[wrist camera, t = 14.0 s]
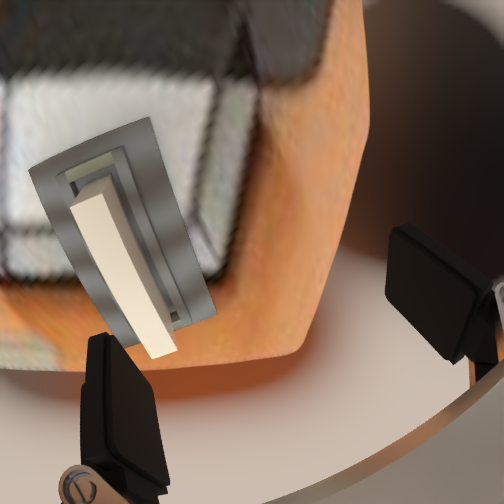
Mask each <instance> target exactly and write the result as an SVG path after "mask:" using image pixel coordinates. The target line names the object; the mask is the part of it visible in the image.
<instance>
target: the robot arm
mask: <svg viewBox="0 0 504 504" xmlns="http://www.w3.org/2000/svg"><path fill="white" fill-rule="evenodd" d="M492 286H493V283H492V282H491V281H490V280H489V279H487V278H486V277H485V276H484V275H482V274H481V273H480V272H478V271H477V270H476V269H475V268H473V267H472V266H470V265H469V264H468V263H467V262H465V261H464V260H462V259H461V258H459V257H458V256H457V255H456V254H454V253H453V252H451V251H450V250H449V249H447V248H446V247H445V246H443V245H442V244H440V243H439V242H437V241H436V240H434V239H433V238H432V237H430V236H429V235H427V234H426V233H424V232H423V231H421V230H420V229H418V228H417V227H415V226H414V225H412V224H411V223H409V222H405V223H403V224H401V225H398V226H395V227H394V228H393V229H392V231H391V233H390V235H389V247H388V261H387V275H386V285H385V295H386V298H387V300H388V301H389V302H390V303H391V304H392V305H393V306H394V307H395V308H396V309H397V310H398V311H399V312H400V313H401V314H402V315H403V316H404V317H405V318H406V319H407V320H408V322H410V323H411V325H412V326H413V327H414V328H415V329H416V330H417V331H418V332H419V333H420V334H421V335H422V336H423V337H424V338H425V339H426V340H427V341H428V342H429V344H430V345H431V346H432V347H433V348H434V349H435V350H436V351H437V352H438V353H439V354H440V355H441V356H442V357H443V358H444V359H445V360H449V361H450V362H451V363H452V364H453V365H454V364H456V363H457V362H458V361H459V360H461V359H462V358H463V357H464V355H466V356H467V357H468V360H469V379H470V389H469V390H467V391H466V392H465V393H464V394H462V395H461V396H460V397H459V398H457V399H456V400H455V401H453V402H452V403H451V404H450V405H448V406H447V407H446V408H444V409H443V410H442V411H440V412H439V413H437V414H436V415H435V416H433V417H432V418H430V419H429V420H428V421H426V422H425V423H424V424H422V425H421V426H419V427H417V428H416V429H414V430H413V431H411V432H410V433H408V434H407V435H405V436H404V437H402V438H401V439H399V440H397V441H396V442H394V443H392V444H391V445H389V446H387V447H386V448H384V449H382V450H381V451H379V452H377V453H375V454H374V455H372V456H370V457H368V458H366V459H364V460H363V461H361V462H359V463H357V464H355V465H353V466H351V467H349V468H347V469H345V470H343V471H341V472H339V473H337V474H335V475H333V476H331V477H329V478H326V479H324V480H322V481H320V482H317V483H315V484H313V485H311V486H308V487H306V488H303V489H301V490H298V491H296V492H293V493H291V494H288V495H286V496H283V497H280V498H278V499H275V500H272V501H269V502H266V503H263V504H504V282H503V283H500V284H499V285H498V286H497V287H496V289H495V292H494V291H493V290H492ZM80 450H81V465H75V466H72V467H70V468H68V469H67V470H66V471H65V472H64V473H63V475H62V476H61V478H60V481H59V495H60V499H61V500H62V503H61V504H159V500H158V496H159V495H164V494H168V491H167V487H166V486H168V485H170V478H169V473H168V469H167V465H166V460H165V455H164V450H163V445H162V440H161V435H160V429H159V423H158V417H157V411H156V405H155V399H154V393H153V390H152V387H151V385H150V384H149V382H148V381H147V380H146V378H145V377H144V376H143V374H142V373H141V372H140V370H139V369H138V368H137V366H136V365H135V363H134V362H133V361H132V359H131V358H130V357H129V355H128V354H127V352H126V351H125V349H124V348H123V347H122V345H121V344H120V342H119V341H118V339H117V338H116V337H115V335H109V334H108V333H107V332H104V333H101V334H98V335H95V336H91V337H90V338H89V340H88V348H87V361H86V377H85V383H84V384H83V385H82V388H81V405H80Z"/></svg>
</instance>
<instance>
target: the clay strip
mask: <svg viewBox="0 0 504 504" xmlns="http://www.w3.org/2000/svg"><path fill="white" fill-rule="evenodd" d="M70 209H71V211H72V214H73V216H74V218H75V220H76V222H77V225H78V227H79V229H80V231H81V233H82V235H83V238H84V240H85V242H86V244H87V246H88V248H89V250H90V252H91V254H92V256H93V258H94V260H95V262H96V264H97V266H98V268H99V270H100V271H101V273H102V275H103V277H104V279H105V281H106V283H107V285H108V286H109V288H110V290H111V292H112V294H113V295H114V297H115V299H116V301H117V303H118V304H119V306H120V308H121V309H122V311H123V313H124V315H125V316H126V318H127V320H128V321H129V323H130V325H131V326H132V328H133V329H134V331H135V333H136V334H137V336H138V338H139V339H140V341H141V342H142V344H143V345H144V347H145V349H146V350H147V352H148V353H149V355H150V356H151V358H152V359H154V358H157V357H160V356H163V355H166V354H169V353H171V352H174V351H177V350H178V349H177V344H176V340H175V335H174V330H173V325H172V320H171V315H170V310H169V306H168V304H167V302H166V300H165V298H164V296H163V294H162V292H161V290H160V287H159V285H158V283H157V281H156V279H155V277H154V275H153V272H152V270H151V268H150V266H149V264H148V261H147V259H146V257H145V255H144V252H143V250H142V248H141V246H140V243H139V241H138V239H137V236H136V234H135V231H134V229H133V227H132V224H131V222H130V219H129V217H128V215H127V212H126V210H125V207H124V205H123V202H122V199H121V197H120V194H119V192H118V189H117V186H116V184H115V181H114V178H113V176H112V173H111V172H110V173H108V174H105V175H103V176H101V177H98V178H96V179H94V180H91V181H89V182H87V183H85V184H84V186H83V187H82V189H81V191H80V192H79V194H78V195H77V197H76V198H75V200H74V201H73V203H72V205H71V206H70Z"/></svg>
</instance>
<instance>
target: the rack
mask: <svg viewBox="0 0 504 504" xmlns="http://www.w3.org/2000/svg"><path fill="white" fill-rule="evenodd" d="M28 171H29V174H30V176H31V179H32V181H33V184H34V186H35V189H36V191H37V194H38V196H39V198H40V201H41V203H42V205H43V207H44V210H45V212H46V214H47V216H48V219H49V221H50V223H51V225H52V227H53V229H54V231H55V233H56V235H57V237H58V239H59V241H60V243H61V245H62V247H63V249H64V251H65V253H66V255H67V257H68V259H69V261H70V263H71V265H72V266H73V268H74V270H75V272H76V274H77V276H78V277H79V279H80V281H81V283H82V284H83V286H84V288H85V290H86V291H87V293H88V295H89V296H90V298H91V300H92V301H93V303H94V305H95V306H96V308H97V310H98V311H99V313H100V315H101V316H102V318H103V319H104V321H105V322H106V324H107V326H108V327H109V329H110V330H111V332H112V333H113V335H115V337H116V338H117V339H118V341H119V342H120V344H121V345H122V347H123V348H127V347H130V346H133V345H136V344H139V343H142V342H141V341H140V339H139V338H138V336H137V334H136V333H135V331H134V329H133V328H132V326H131V325H130V323H129V321H128V320H127V318H126V316H125V315H124V313H123V311H122V309H121V308H120V306H119V304H118V303H117V301H116V299H115V297H114V295H113V294H112V292H111V290H110V288H109V286H108V285H107V283H106V281H105V279H104V277H103V275H102V273H101V271H100V270H99V268H98V266H97V264H96V262H95V260H94V258H93V256H92V254H91V252H90V250H89V248H88V246H87V244H86V242H85V240H84V238H83V235H82V233H81V231H80V229H79V227H78V225H77V222H76V220H75V218H74V216H73V214H72V211H71V209H70V206H71V205H72V203H73V201H74V200H75V198H76V197H77V195H78V194H79V192H80V191H81V189H82V187H83V186H84V184H85V183H87V182H89V181H91V180H94V179H96V178H98V177H101V176H103V175H105V174H108V173H110V172H111V173H112V176H113V178H114V181H115V184H116V186H117V189H118V192H119V194H120V197H121V199H122V202H123V205H124V207H125V210H126V212H127V215H128V217H129V219H130V222H131V224H132V227H133V229H134V231H135V234H136V236H137V239H138V241H139V243H140V246H141V248H142V250H143V252H144V255H145V257H146V259H147V261H148V264H149V266H150V268H151V270H152V272H153V275H154V277H155V279H156V281H157V283H158V285H159V287H160V290H161V292H162V294H163V296H164V298H165V300H166V302H167V304H168V306H169V310H170V315H171V320H172V325H173V330H174V331H175V330H178V329H181V328H183V327H186V326H189V325H191V324H194V323H197V322H199V321H202V320H205V319H207V318H210V317H212V316H215V315H218V314H217V311H216V309H215V306H214V304H213V301H212V299H211V296H210V293H209V291H208V288H207V286H206V283H205V280H204V278H203V275H202V272H201V270H200V267H199V264H198V262H197V259H196V256H195V253H194V251H193V248H192V245H191V242H190V240H189V237H188V234H187V231H186V228H185V226H184V223H183V220H182V217H181V214H180V211H179V208H178V206H177V203H176V200H175V197H174V194H173V191H172V188H171V185H170V182H169V179H168V176H167V173H166V170H165V167H164V163H163V160H162V157H161V154H160V151H159V148H158V145H157V141H156V138H155V135H154V132H153V128H152V125H151V122H150V118H149V117H146V118H144V119H141V120H138V121H135V122H133V123H130V124H127V125H125V126H122V127H119V128H117V129H114V130H112V131H109V132H107V133H105V134H102V135H100V136H97V137H95V138H93V139H90V140H88V141H86V142H84V143H81V144H79V145H77V146H75V147H73V148H70V149H68V150H66V151H64V152H62V153H60V154H58V155H56V156H54V157H52V158H50V159H48V160H46V161H44V162H42V163H40V164H38V165H36V166H34V167H32V168H31V169H29V170H28Z"/></svg>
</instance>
